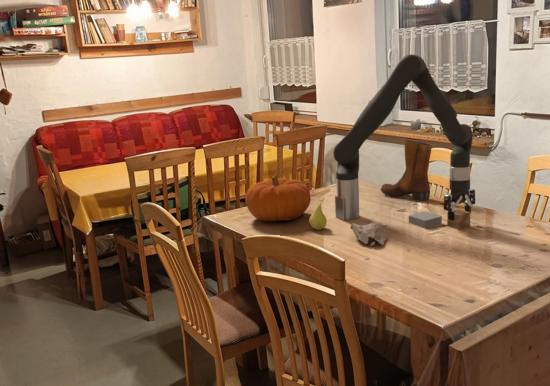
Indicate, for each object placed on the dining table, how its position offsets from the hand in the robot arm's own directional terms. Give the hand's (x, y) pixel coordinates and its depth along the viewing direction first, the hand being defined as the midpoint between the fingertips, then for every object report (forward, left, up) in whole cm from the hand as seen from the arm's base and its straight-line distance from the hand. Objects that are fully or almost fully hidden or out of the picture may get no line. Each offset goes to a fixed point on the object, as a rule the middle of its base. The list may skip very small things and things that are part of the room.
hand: (459, 217), depth 214 cm
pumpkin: (-50, +55, -4) cm, 75 cm away
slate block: (-7, +11, -4) cm, 14 cm away
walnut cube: (0, 0, -4) cm, 4 cm away
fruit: (-44, +32, -4) cm, 55 cm away
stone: (-36, +10, -4) cm, 38 cm away
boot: (+12, +45, -4) cm, 47 cm away
